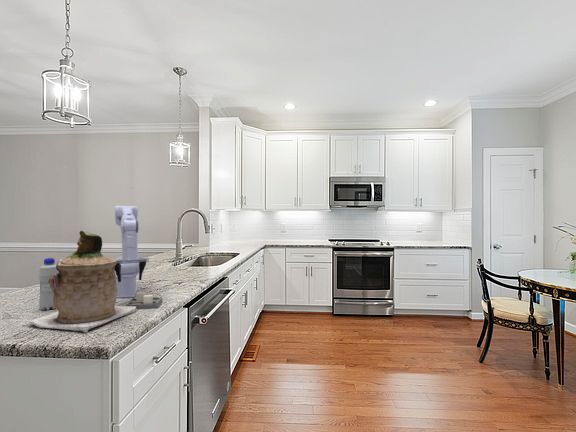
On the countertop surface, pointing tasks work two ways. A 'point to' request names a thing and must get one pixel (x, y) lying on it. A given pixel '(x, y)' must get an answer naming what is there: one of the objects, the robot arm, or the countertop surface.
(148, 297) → the tab
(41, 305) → the bottle
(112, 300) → the cookie jar
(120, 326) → the countertop surface
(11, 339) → the countertop surface
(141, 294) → the tab
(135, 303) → the tray
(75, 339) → the countertop surface
